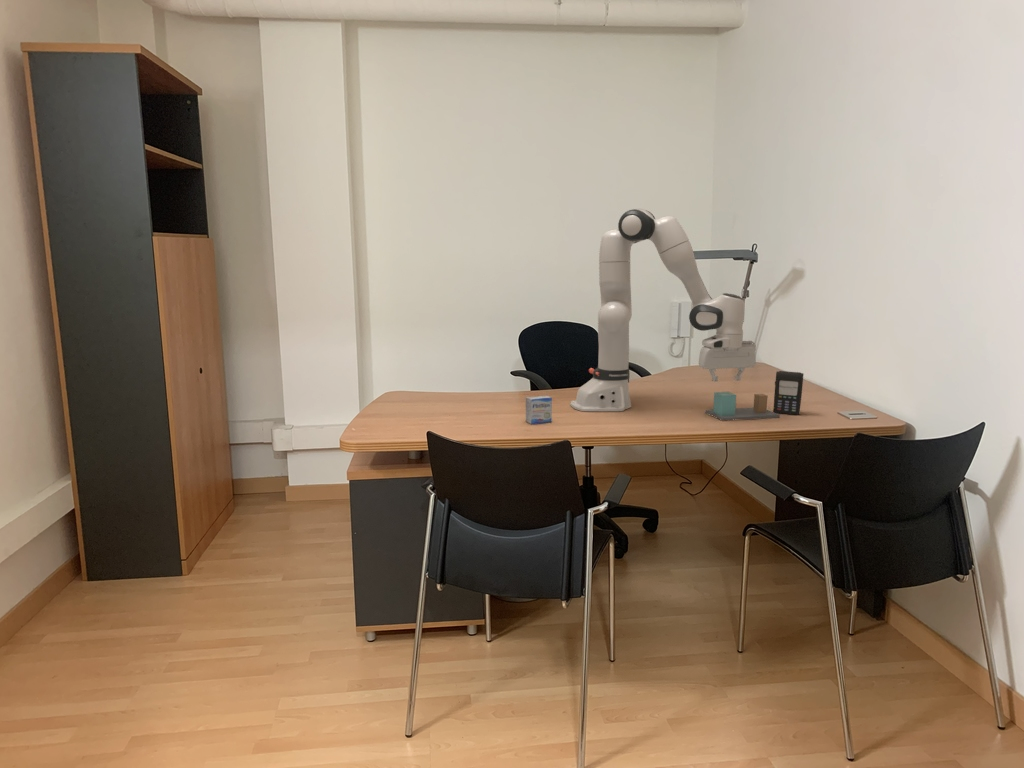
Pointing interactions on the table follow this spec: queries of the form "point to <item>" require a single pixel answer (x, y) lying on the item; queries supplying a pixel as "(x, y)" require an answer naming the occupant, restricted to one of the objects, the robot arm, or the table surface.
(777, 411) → the card reader
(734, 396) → the teal block
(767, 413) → the post board
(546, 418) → the medicine box
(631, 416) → the table surface
